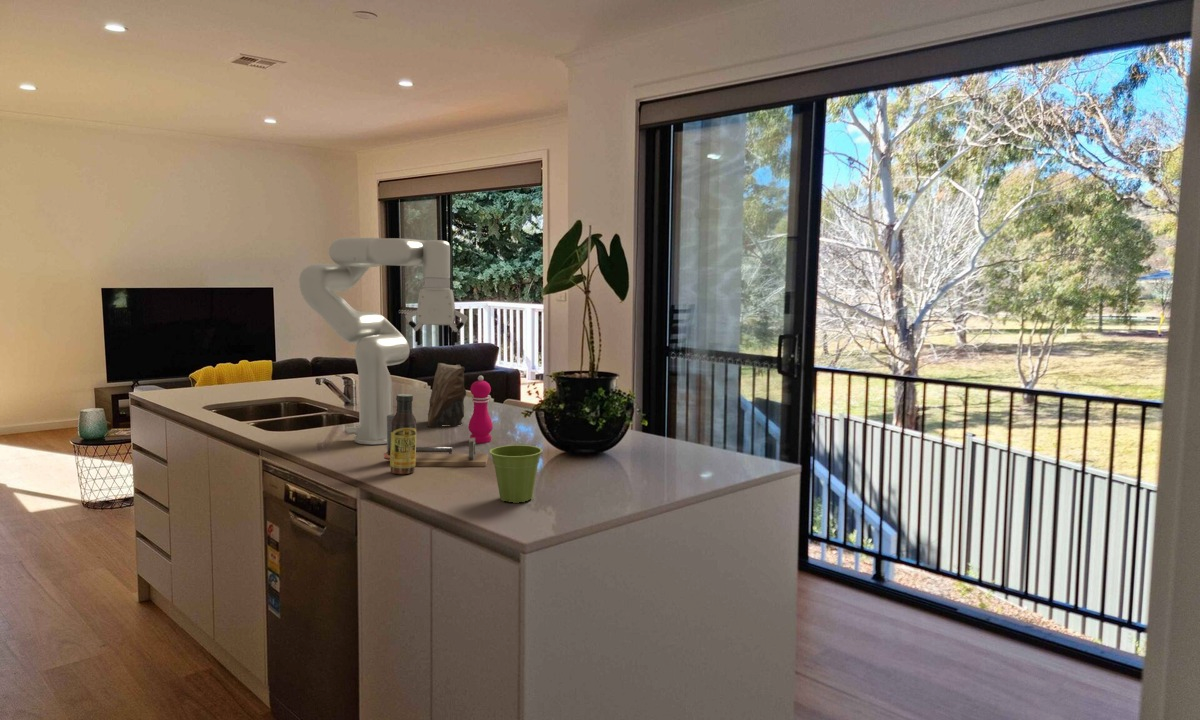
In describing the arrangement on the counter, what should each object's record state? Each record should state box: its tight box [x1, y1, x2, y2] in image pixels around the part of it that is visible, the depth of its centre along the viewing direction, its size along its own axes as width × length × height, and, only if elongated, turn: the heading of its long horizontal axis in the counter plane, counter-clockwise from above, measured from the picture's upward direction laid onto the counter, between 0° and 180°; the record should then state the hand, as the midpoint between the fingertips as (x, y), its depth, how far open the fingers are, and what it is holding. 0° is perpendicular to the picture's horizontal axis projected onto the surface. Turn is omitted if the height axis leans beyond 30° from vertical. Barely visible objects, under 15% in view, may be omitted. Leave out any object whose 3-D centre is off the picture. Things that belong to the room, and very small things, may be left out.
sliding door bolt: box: [383, 413, 453, 461], centre depth 209 cm, size 18×6×11 cm, turn 94°
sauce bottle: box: [389, 393, 417, 475], centre depth 197 cm, size 7×6×20 cm
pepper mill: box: [468, 375, 493, 444], centre depth 236 cm, size 7×7×20 cm
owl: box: [427, 362, 467, 427], centre depth 263 cm, size 13×13×20 cm
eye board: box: [415, 438, 489, 467], centre depth 210 cm, size 22×9×6 cm, turn 94°
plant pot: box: [488, 444, 543, 504], centre depth 176 cm, size 12×12×11 cm
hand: (436, 345), depth 222 cm, fingers open, 9 cm apart
